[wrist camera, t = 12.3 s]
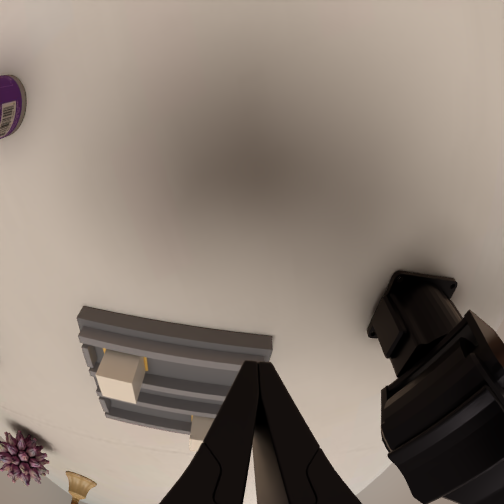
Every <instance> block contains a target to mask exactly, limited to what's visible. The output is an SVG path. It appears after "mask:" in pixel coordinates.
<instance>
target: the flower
mask: <svg viewBox="0 0 504 504" xmlns="http://www.w3.org/2000/svg"><path fill="white" fill-rule="evenodd" d="M5 435H6V442H7V443H6V442H1V441H0V449H1V451H2V452H0V462H1V463H3V464H4V465H3V467H2V468H1V469H0V470H1V471H8V474H7V475H8V477H12V482H14V483H15V481H16V480H18V479H19V478H20V479H21V480H22V482H23V483H24V486H28V485H29V482H30V477H31V478H32V479H33V480H35V481H36V482H37V483H38V484H41V483H40V481H39V480H41V478H40V477H39V475H43V476H45V475H46V474H45V473H47V474H49V473H48V472H49V471H48V470H47V469H45V468H44V466H43V465H44V464H49V461H48V460H46V459H44V458H45V457H47V454H46V453H41V450H42V449H43V446H36V441H37V440H36V439H35V438H34V439H33V440H31V436H30V435H28V437H26V438H25V439H24V437H23V435H22V433H21V431H19V430H18V434H16V439H15V438H13V437H12V436H11V434H10V433H7V432H5Z"/></svg>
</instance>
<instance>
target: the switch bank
mask: <svg viewBox="0 0 504 504" xmlns="http://www.w3.org/2000/svg"><path fill="white" fill-rule="evenodd" d="M77 321H78V325H79V329H80V333H79V335H78V337H79V340H80V343H83V345H82V351H83V354H84V357H85V360H86V363H87V366H88V367H90V369H89V373H90V375H91V376H93V377H94V379H95V382H96V385H97V390H96V392H97V395H98V396H100V397H99V400H100V403H101V406H102V408H103V411H104V412H105V416H106V418H110V419H114V420H118V421H122V422H126V423H130V424H135V425H139V426H144V427H149V428H154V429H159V430H164V431H170V432H175V433H182V434H188V435H190V432H191V425H192V418H193V416H201V417H208V418H215V417H216V415H217V413H218V411H219V409H220V407H221V405H222V403H223V401H224V400H225V398H226V396H227V394H228V392H229V390H230V388H231V386H232V384H233V382H234V380H235V378H236V376H237V374H238V372H239V370H240V368H241V366H242V364H243V362H244V361H245V360H254V361H257V362H259V361H265V362H269V360H270V357H271V353H272V350H273V348H272V336H263V335H254V334H246V333H237V332H230V331H222V330H214V329H207V328H200V327H194V326H187V325H181V324H174V323H168V322H162V321H156V320H151V319H145V318H140V317H134V316H129V315H124V314H119V313H114V312H109V311H104V310H99V309H94V308H90V307H85V306H83V308H82V309H81V311H80V313H79V314H78V316H77ZM106 349H109V350H114V351H118V352H123V353H127V354H132V355H137V356H142V357H144V365H145V375H144V379H143V382H142V386H141V389H140V393H139V396H138V400H137V403H136V404H134V403H130V402H125V401H121V400H117V399H113V398H109V397H105V396H103V395H102V393H101V390H100V387H99V384H98V381H97V378H96V372H97V370H98V368H99V365H100V363H101V360H102V358H103V356H104V353H105V351H106Z"/></svg>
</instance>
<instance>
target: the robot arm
mask: <svg viewBox="0 0 504 504" xmlns="http://www.w3.org/2000/svg"><path fill="white" fill-rule="evenodd" d="M399 277H401V278H400V279H398V278H399ZM456 287H457V282H456V281H455V279H453V278H446V277H439V276H432V275H425V274H418V273H411V272H404V271H397V272H396V273H394V275H393V276H392V279H391V281H390V283H389V285H388V288H387V290H386V292H385V294H384V296H383V297H382V299H381V301H380V303H379V305H378V308H377V310H376V312H375V314H374V316H373V318H372V320H371V324H370V326H369V328H368V330H367V334H368V337H370V338H378V339H379V342H380V345H381V347H382V350H383V352H384V355H385V357H386V358H390V360H391V363H392V365H393V368H394V371H395V373H396V376H397V378H398V379H396V380H395V381H394V382H393V383H391V384H390V385H389V386H386V387H385V388H383V389H382V390H381V436H382V441H383V443H384V445H385V447H386V449H387V450H388V452H389V453H388V458H389V459H390V460H391V461H392V462H393V463H394V464H395V465H396V466H397V467H398V469H399V470H400V471H401V473H402V474H403V476H404V478H405V479H406V482H407V484H408V486H409V488H410V490H411V493H412V495H413V497H414V498H416V499H417V500H418V501H420V502H421V503H423V504H428V503H430V502H432V501H435V500H437V499H439V498H441V497H443V498H445V499H448V500H451V501H453V502H456V503H458V504H504V343H503V342H502V340H501V339H500V338H499V336H498V335H497V333H496V332H495V331H494V330H493V329H492V328H491V327H490V326H489V325H488V324H486V323H485V322H484V321H483V320H482V319H480V318H479V317H478V316H477V315H476V314H474V313H473V312H472V311H471V310H469V311H468V312H467V313H466V314H465V315H464V316H465V317H464V318H463V317H462V316H461V314H460V313H459V311H458V310H457V308H456V307H455V305H454V304H453V302H452V301H451V300H450V298H451V297H452V295H453V293H454V291H455V289H456ZM252 447H253V459H254V471H255V483H256V495H257V504H362V503H361V502H360V501H359V499H358V498H357V497H356V496H355V495H354V494H353V492H352V491H351V490H350V489H349V487H348V486H347V485H346V484H345V483H344V481H343V480H342V479H341V477H340V476H339V475H338V474H337V472H336V471H335V470H334V468H333V467H332V465H331V463H330V462H329V460H328V459H327V457H326V456H325V454H324V452H323V451H322V449H321V448H319V447H320V446H319V444H318V442H317V441H316V439H315V437H314V436H313V434H312V432H311V431H310V429H309V427H308V425H307V424H306V422H305V420H304V419H303V417H302V415H301V413H300V412H299V410H298V408H297V407H296V405H295V403H294V401H293V400H292V398H291V396H290V394H289V393H288V391H287V389H286V387H285V386H284V384H283V382H282V380H281V378H280V377H279V375H278V373H277V371H276V370H275V368H274V366H273V364H272V363H271V362H265V361H259V362H257V361H254V360H245V361H244V362H243V364H242V366H241V368H240V370H239V372H238V374H237V376H236V378H235V380H234V382H233V384H232V386H231V388H230V390H229V392H228V394H227V396H226V398H225V400H224V401H223V403H222V405H221V407H220V409H219V411H218V413H217V415H216V417H215V419H214V421H213V423H212V425H211V427H210V428H209V430H208V432H207V434H206V436H205V438H204V440H203V443H201V445H200V447H199V449H198V451H197V453H196V454H195V456H194V458H193V459H192V461H191V463H190V464H189V466H188V467H187V469H186V470H185V471H184V473H183V474H182V476H181V477H180V478H179V480H178V481H177V482H176V483H175V485H174V486H173V487H172V488H171V490H170V491H169V492H168V493H167V495H166V496H165V497H164V498H163V499H162V501H161V502H160V503H159V504H243V499H244V493H245V487H246V481H247V475H248V469H249V462H250V456H251V450H252Z"/></svg>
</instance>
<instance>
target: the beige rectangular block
mask: <svg viewBox="0 0 504 504" xmlns="http://www.w3.org/2000/svg"><path fill="white" fill-rule="evenodd" d="M144 375H145V365H144V357H142V356H137V355H132V354H127V353H123V352H118V351H114V350H109V349H106V351H105V353H104V356H103V358H102V360H101V363H100V365H99V368H98V370H97V372H96V378H97V381H98V384H99V387H100V390H101V393H102V395H103V396H105V397H109V398H113V399H117V400H121V401H125V402H130V403H134V404H136V403H137V400H138V396H139V393H140V389H141V386H142V382H143V379H144Z"/></svg>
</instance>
